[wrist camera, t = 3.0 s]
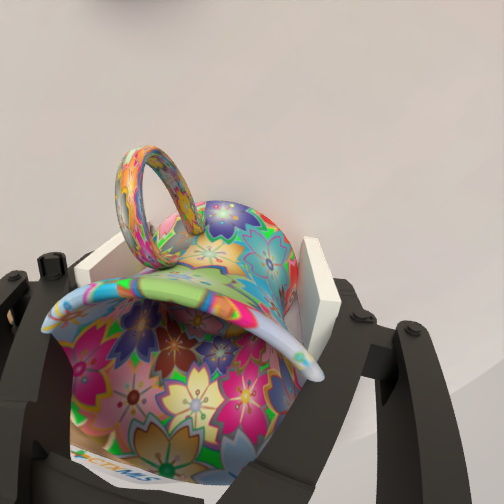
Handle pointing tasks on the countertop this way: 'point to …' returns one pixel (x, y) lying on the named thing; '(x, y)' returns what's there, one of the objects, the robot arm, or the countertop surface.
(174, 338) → the mug
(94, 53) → the countertop surface
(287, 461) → the robot arm
